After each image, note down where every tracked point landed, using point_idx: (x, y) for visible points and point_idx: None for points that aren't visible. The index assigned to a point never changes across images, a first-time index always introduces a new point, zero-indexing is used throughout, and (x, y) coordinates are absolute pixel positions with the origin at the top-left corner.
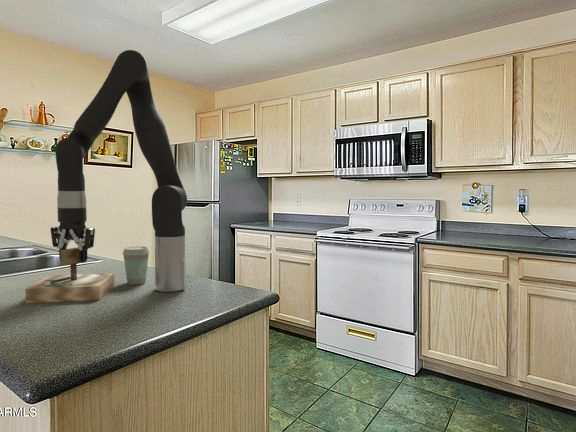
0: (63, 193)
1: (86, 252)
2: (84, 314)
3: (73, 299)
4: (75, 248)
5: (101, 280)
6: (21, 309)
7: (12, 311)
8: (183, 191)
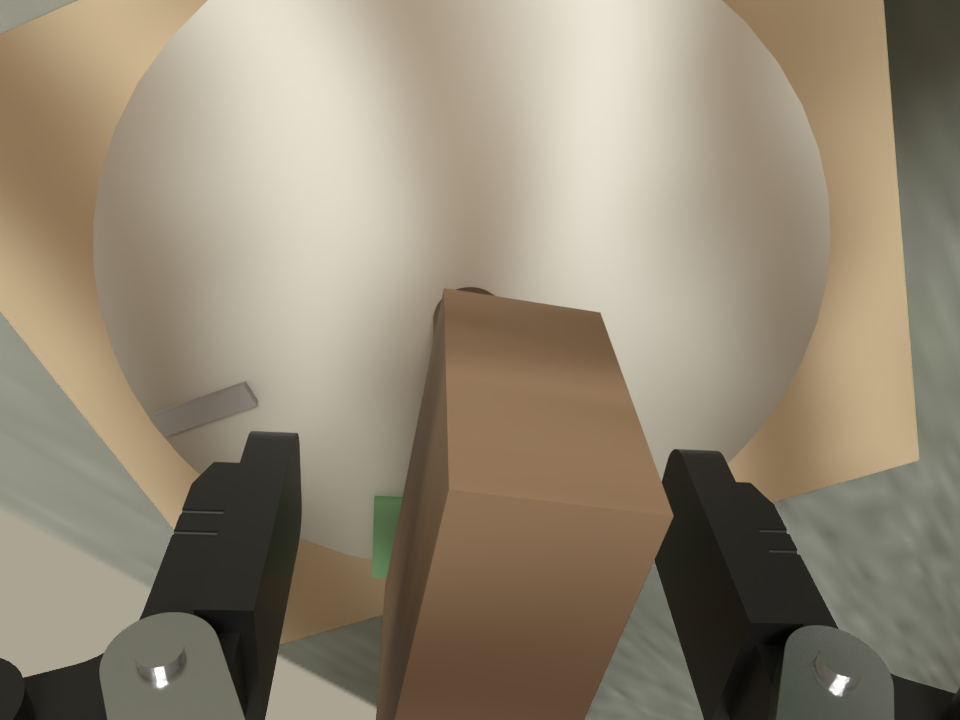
0: None
1: (816, 620)
2: (874, 634)
3: None
4: (529, 664)
5: (835, 245)
6: None
7: (373, 671)
8: None
